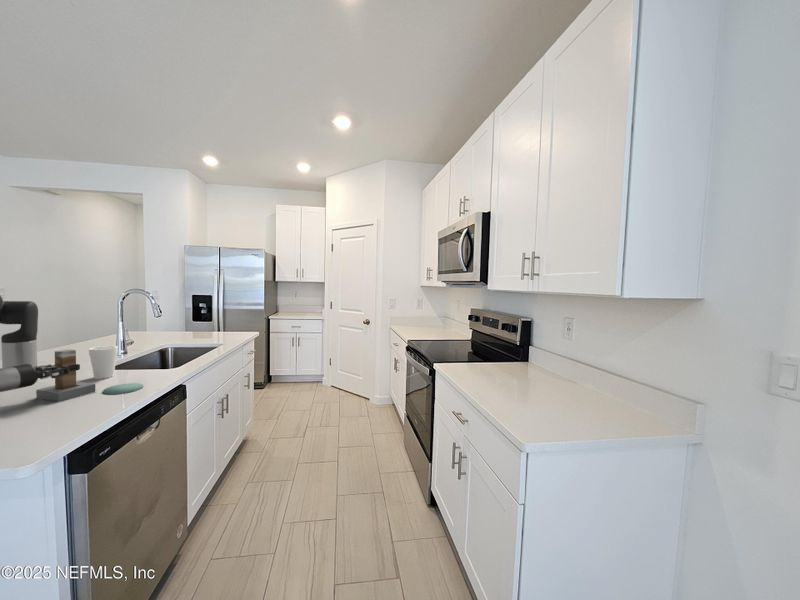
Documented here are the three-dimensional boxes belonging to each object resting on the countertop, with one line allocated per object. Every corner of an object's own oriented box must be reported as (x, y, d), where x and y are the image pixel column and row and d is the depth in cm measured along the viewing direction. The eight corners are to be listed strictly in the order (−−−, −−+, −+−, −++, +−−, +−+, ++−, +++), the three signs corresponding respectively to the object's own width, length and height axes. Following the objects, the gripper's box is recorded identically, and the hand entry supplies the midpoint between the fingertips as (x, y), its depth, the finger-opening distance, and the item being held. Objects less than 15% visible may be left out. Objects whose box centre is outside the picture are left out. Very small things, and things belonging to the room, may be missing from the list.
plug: (55, 394, 119) (54, 351, 119) (68, 391, 123) (68, 349, 123) (63, 395, 118) (62, 352, 118) (76, 392, 122) (75, 350, 122)
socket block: (36, 398, 117) (36, 389, 117) (74, 388, 128) (74, 380, 127) (58, 401, 114) (58, 393, 114) (95, 391, 125) (95, 383, 125)
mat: (103, 388, 129) (103, 386, 129) (142, 382, 137) (142, 381, 137) (103, 396, 120) (103, 395, 120) (144, 390, 128) (144, 388, 128)
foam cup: (106, 373, 148) (105, 345, 148) (123, 374, 147) (123, 346, 146) (83, 379, 139) (82, 349, 138) (101, 380, 138) (101, 350, 137)
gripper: (25, 369, 105) (88, 357, 121) (-4, 365, 108) (61, 354, 125) (26, 392, 105) (88, 377, 122) (-3, 387, 109) (61, 374, 125)
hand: (74, 366), depth 123 cm, fingers closed on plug, 4 cm apart
